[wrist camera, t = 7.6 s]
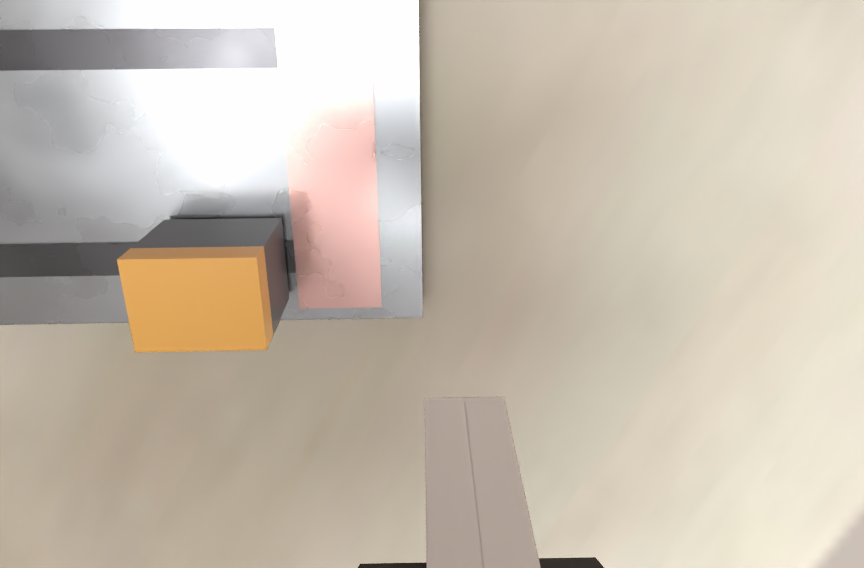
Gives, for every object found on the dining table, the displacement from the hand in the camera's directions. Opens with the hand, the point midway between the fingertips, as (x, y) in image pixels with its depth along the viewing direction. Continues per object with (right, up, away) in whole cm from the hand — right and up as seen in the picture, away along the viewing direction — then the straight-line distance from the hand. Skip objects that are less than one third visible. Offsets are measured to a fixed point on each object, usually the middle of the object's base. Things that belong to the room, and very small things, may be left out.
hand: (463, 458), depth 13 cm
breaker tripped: (-8, +4, +11) cm, 14 cm away
